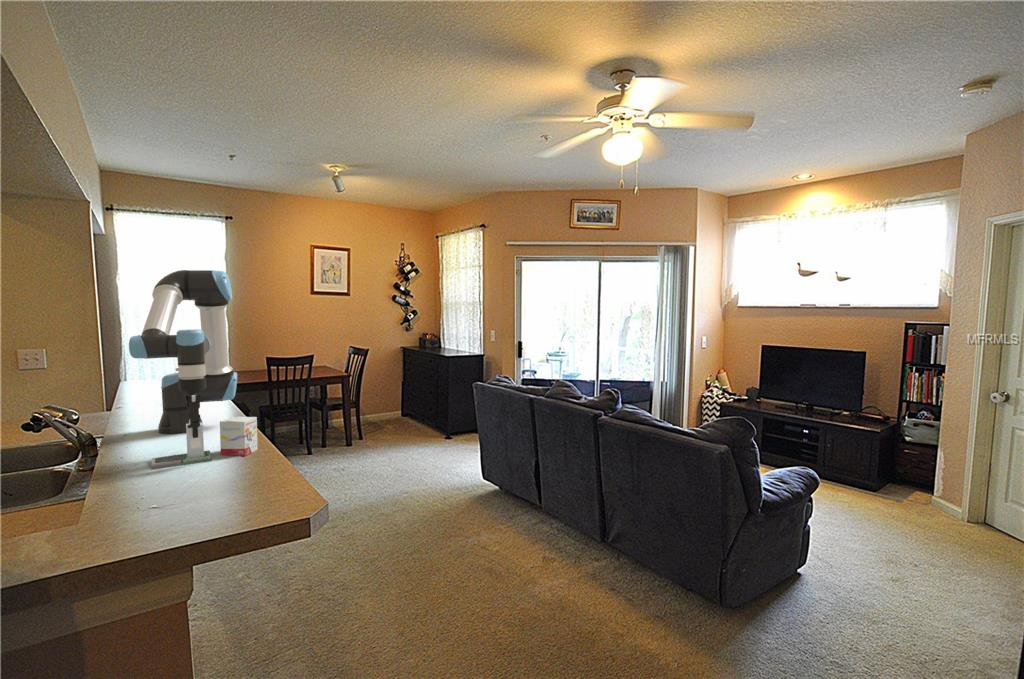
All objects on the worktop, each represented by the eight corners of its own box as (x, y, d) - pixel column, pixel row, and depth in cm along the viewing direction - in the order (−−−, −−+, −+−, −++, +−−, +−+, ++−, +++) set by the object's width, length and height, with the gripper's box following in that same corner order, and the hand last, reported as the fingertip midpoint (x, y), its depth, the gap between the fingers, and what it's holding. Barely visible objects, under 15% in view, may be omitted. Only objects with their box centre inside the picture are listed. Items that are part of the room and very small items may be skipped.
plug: (187, 457, 167) (185, 421, 166) (203, 455, 170) (202, 419, 169) (187, 460, 163) (186, 424, 163) (204, 458, 166) (202, 422, 165)
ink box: (245, 456, 170) (244, 421, 169) (219, 456, 170) (218, 421, 169) (258, 449, 178) (257, 415, 178) (234, 449, 179) (232, 415, 178)
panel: (152, 460, 166) (152, 456, 165) (209, 452, 174) (209, 448, 174) (150, 471, 155) (150, 466, 155) (212, 462, 163) (211, 457, 163)
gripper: (178, 374, 173) (181, 436, 175) (178, 383, 152) (181, 453, 154) (204, 372, 177) (206, 433, 179) (207, 381, 156) (210, 449, 158)
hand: (195, 443), depth 166 cm, fingers open, 13 cm apart
